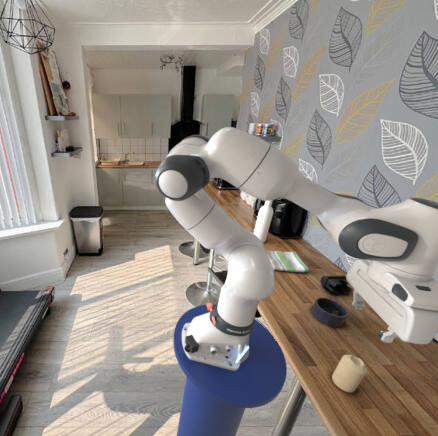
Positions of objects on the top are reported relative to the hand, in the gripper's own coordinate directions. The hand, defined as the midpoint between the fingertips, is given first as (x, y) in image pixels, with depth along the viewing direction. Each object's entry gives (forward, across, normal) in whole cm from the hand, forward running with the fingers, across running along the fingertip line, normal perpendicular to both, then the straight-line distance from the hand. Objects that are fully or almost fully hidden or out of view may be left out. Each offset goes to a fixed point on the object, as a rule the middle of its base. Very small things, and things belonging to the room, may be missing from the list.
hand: (369, 322), depth 55 cm
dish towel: (+28, -68, +7) cm, 74 cm away
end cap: (+28, -50, +26) cm, 63 cm away
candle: (+28, -4, +6) cm, 28 cm away
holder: (+27, -32, +14) cm, 44 cm away
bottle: (+28, -93, +3) cm, 97 cm away
